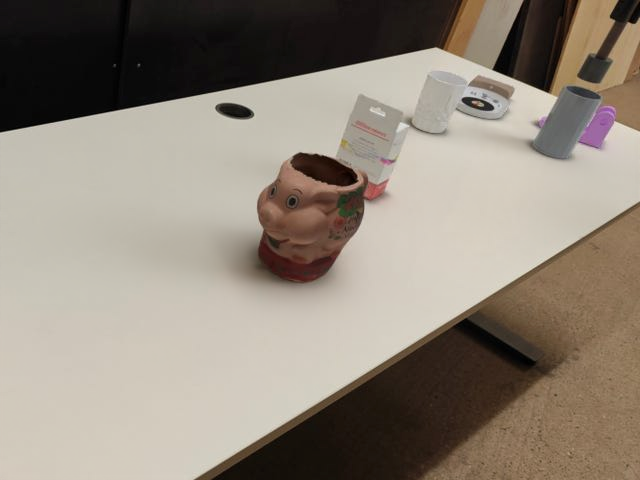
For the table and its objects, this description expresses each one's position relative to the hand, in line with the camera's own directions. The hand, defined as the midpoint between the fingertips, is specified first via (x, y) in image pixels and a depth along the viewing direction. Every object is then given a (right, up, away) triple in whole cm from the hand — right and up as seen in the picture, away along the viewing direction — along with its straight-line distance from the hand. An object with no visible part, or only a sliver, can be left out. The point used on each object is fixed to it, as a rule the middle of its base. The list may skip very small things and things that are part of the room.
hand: (622, 20), depth 121 cm
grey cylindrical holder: (-3, -18, +18) cm, 25 cm away
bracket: (+7, -12, +27) cm, 30 cm away
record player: (-10, -3, +33) cm, 35 cm away
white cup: (-28, -13, +17) cm, 36 cm away
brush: (-2, -8, +7) cm, 11 cm away
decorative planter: (-64, -47, -27) cm, 84 cm away
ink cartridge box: (-50, -32, -8) cm, 60 cm away
